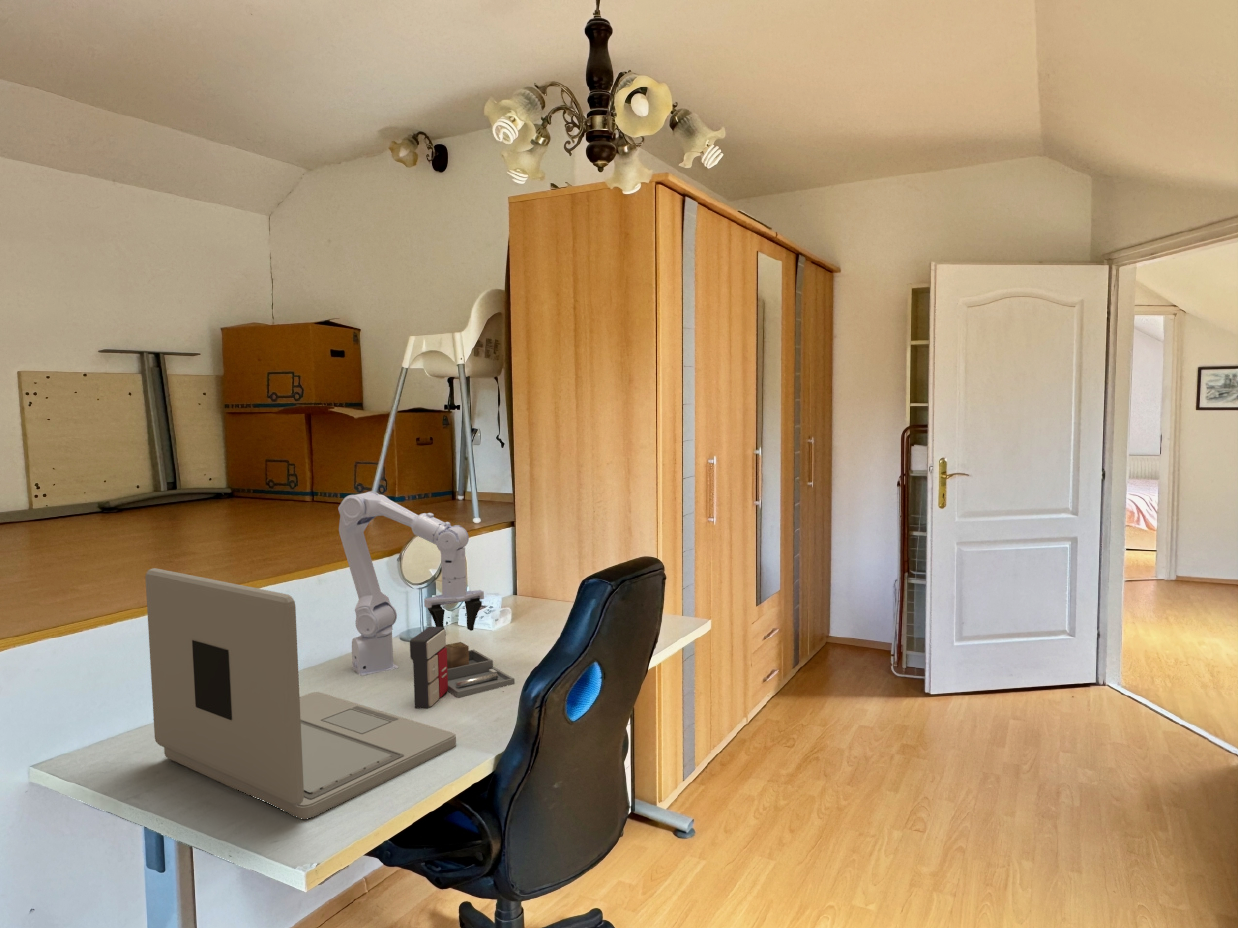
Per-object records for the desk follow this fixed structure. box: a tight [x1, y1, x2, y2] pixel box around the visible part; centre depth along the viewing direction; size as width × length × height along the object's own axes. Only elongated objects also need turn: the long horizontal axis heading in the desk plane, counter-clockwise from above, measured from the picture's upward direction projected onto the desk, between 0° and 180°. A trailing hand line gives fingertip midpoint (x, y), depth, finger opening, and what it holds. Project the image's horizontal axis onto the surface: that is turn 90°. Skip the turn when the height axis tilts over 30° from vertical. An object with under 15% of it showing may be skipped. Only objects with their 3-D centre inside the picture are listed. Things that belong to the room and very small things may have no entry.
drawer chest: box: [409, 626, 448, 710], centre depth 173 cm, size 11×4×15 cm, turn 171°
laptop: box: [145, 567, 457, 820], centre depth 145 cm, size 44×34×36 cm
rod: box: [456, 673, 498, 688], centre depth 182 cm, size 10×1×1 cm
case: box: [447, 649, 494, 681], centre depth 191 cm, size 14×11×3 cm
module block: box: [445, 641, 470, 669], centre depth 191 cm, size 4×4×6 cm
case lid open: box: [447, 666, 516, 699], centre depth 182 cm, size 14×11×2 cm
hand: (455, 632), depth 191 cm, fingers open, 7 cm apart
